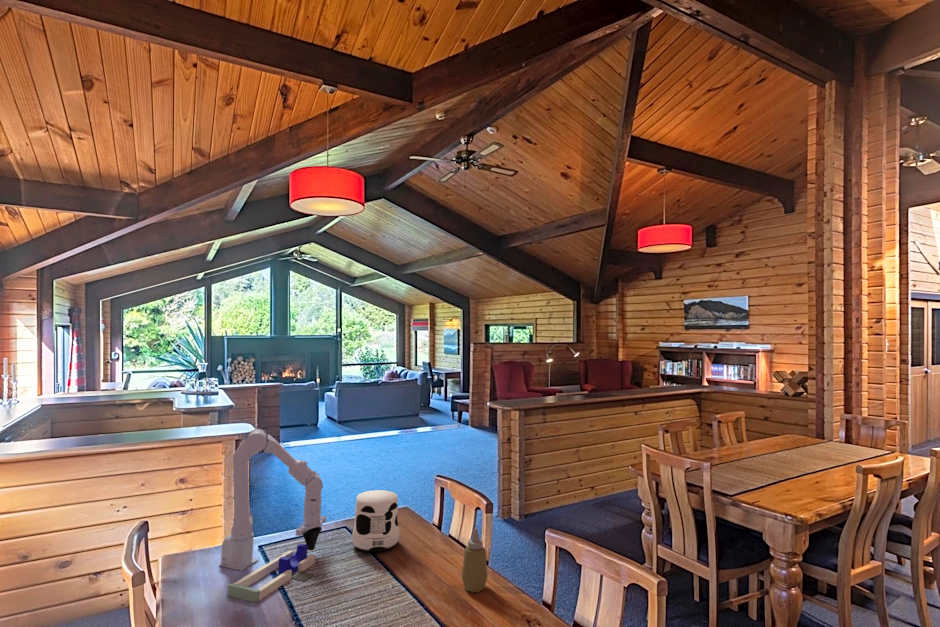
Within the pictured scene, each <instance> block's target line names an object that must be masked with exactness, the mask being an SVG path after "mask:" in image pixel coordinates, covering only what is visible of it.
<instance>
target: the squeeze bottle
mask: <svg viewBox="0 0 940 627" xmlns="http://www.w3.org/2000/svg"><path fill="white" fill-rule="evenodd" d="M483 545H484V541H483V540H482V539H481V538H480V535H479V530H478V528H473V532H472V535H471V538H470V539H468V540H467V546H466V547H465V548H464V555H463V561H462V571H461V579H462V582H463V583H462V584H463V585H464V586H463V587H464V589H465V591H466V592H469V591H471V592H470V593H474V592H476V593H479V592H478V591H481V590H482V589H483V590H484V588H485V586H486V583H487V579H488V567H487V551H486V548H485V547H484V546H483ZM483 590H482V591H483ZM482 591H481V592H482Z"/></svg>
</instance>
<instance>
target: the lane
mask: <svg viewBox="0 0 940 627" xmlns="http://www.w3.org/2000/svg"><path fill="white" fill-rule="evenodd" d="M292 554H294V550H287V551H286V552H285V553H283V554H281V555H279V556H278V557H276V558H274V559H273V560H271V561H269V562H267V563H266V564H263V565H262V566H261V567H260V568H257V569H255V570H254V571H252V572H250V573H249V574H247V575H245V576H244V577H242V578H241V579H238V580H237V581H235V582H234V583H232V582H231V583H229V584H228V585H227V595H226V596H228V597H232V598H237V599H239V600H244V601H248V602H252V603H258V602H259V601H261V600H263V599H264V598H265V597H267V596H268V595H269V594H271V593H272V592H274V591H275V590H277V589H279V588H280V587H281V586H283V585H284V584H286V583H287V582H289V581H290V580H292V579H291V578H292V577H293V574H292V571H291V570H287V571H285V572H284V573H282V574H281V575H279V576H278V575H277V576H276V577H274V578H273V579H271V580H270V581H269V582H267V583H265V584H263V585H262V586H260V587H259V588H253V587H249V586H251V585H253V584H254V583H256V582H257V581H259V580H261V579H263V578H264V577H265V576H266V575H269V574H270V573H272V572H274V571H275V570H278V569H279V558H281V557H288V558H290V557H291V555H292ZM315 563H316V555H315V554H310V555H309V556H307V558H306V559H304V560H302V561H301V562H299V563H298V570H297V571H298V572H299V573H300V572H301V571H303V572H305V570H306V569H308V568H310V567H311V566H313V565H315Z"/></svg>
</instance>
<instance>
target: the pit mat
mask: <svg viewBox="0 0 940 627" xmlns="http://www.w3.org/2000/svg"><path fill="white" fill-rule="evenodd" d="M314 576H315V573H311V572H308V571H301V572H300V571H299V572H298V573H297V574H296V575H293V576H292V577H291V579H290V580H295V581H298V582H299V581H300V582H304V583H305V582H307V581H308V580H309V579H311V578H312V577H314Z"/></svg>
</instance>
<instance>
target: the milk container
mask: <svg viewBox="0 0 940 627" xmlns="http://www.w3.org/2000/svg"><path fill="white" fill-rule="evenodd" d="M398 499H399V498H398V494H397V493H396V492H393V491H391V490H390V491H389V490H386V489H385V490H384V489H380V490H379V489H377V490H368V491H364V492H361V493H359V494H358V495H356V500H355V508H354V512H355V513H354V516H355V517H354V523H353V526H352V531H351V540H352V544H353V546H354V547H355V548H357V549H358V550H360V551H364V552H382V551H386V550H389V549H391V548H392V547H394V546H395V545H396V544H397V543H398V541H399V537H400V525H399V521H398V512H399V510H398V509H399V507H398V505H399V500H398Z"/></svg>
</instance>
